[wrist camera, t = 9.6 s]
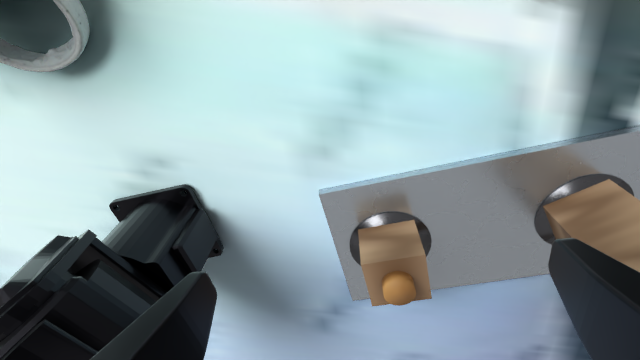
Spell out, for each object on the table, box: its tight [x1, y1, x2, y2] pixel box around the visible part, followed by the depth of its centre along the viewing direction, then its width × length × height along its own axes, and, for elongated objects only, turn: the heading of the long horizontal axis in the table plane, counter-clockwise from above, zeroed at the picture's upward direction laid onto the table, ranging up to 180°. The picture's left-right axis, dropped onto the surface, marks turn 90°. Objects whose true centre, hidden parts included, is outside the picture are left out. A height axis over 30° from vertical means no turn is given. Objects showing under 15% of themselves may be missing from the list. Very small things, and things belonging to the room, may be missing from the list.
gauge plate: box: [319, 125, 640, 301], centre depth 23 cm, size 21×11×1 cm, turn 105°
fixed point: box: [358, 220, 432, 306], centre depth 22 cm, size 4×4×4 cm
